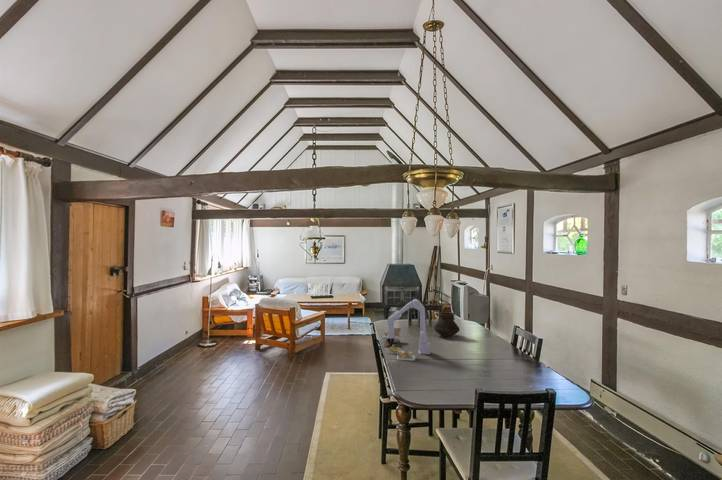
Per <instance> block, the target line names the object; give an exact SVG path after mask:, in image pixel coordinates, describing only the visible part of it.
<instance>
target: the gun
mask: <svg viewBox="0 0 722 480" xmlns="http://www.w3.org/2000/svg"><path fill="white" fill-rule="evenodd" d="M401 328H402V327H401V326H396V327H395V326H394V336H397V337H401V336H400V333H401ZM383 334H384V335H383V336H387V328H385V330H384V331H383ZM382 340H383V341H382V343H383V347H386V348H387V347H388V346H390V345H389V342H388V339H382ZM399 342H401V338H400V339H399V340H398V339H394V341H393V343H394V344H395V343H399Z"/></svg>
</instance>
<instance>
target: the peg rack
mask: <svg viewBox="0 0 722 480" xmlns="http://www.w3.org/2000/svg"><path fill="white" fill-rule="evenodd" d="M396 355H397V356H396V360H397V361H413V362H414V361H416V355H412V358H411V355H410V358H406V355H404V358H403V357H401V358H398V354H396Z"/></svg>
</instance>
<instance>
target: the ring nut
mask: <svg viewBox="0 0 722 480" xmlns="http://www.w3.org/2000/svg"><path fill="white" fill-rule="evenodd" d="M400 350H401V347H399V346H393V345H392V346H390V345H389V351H390V352H391V351H393V352H398V351H400Z"/></svg>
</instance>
